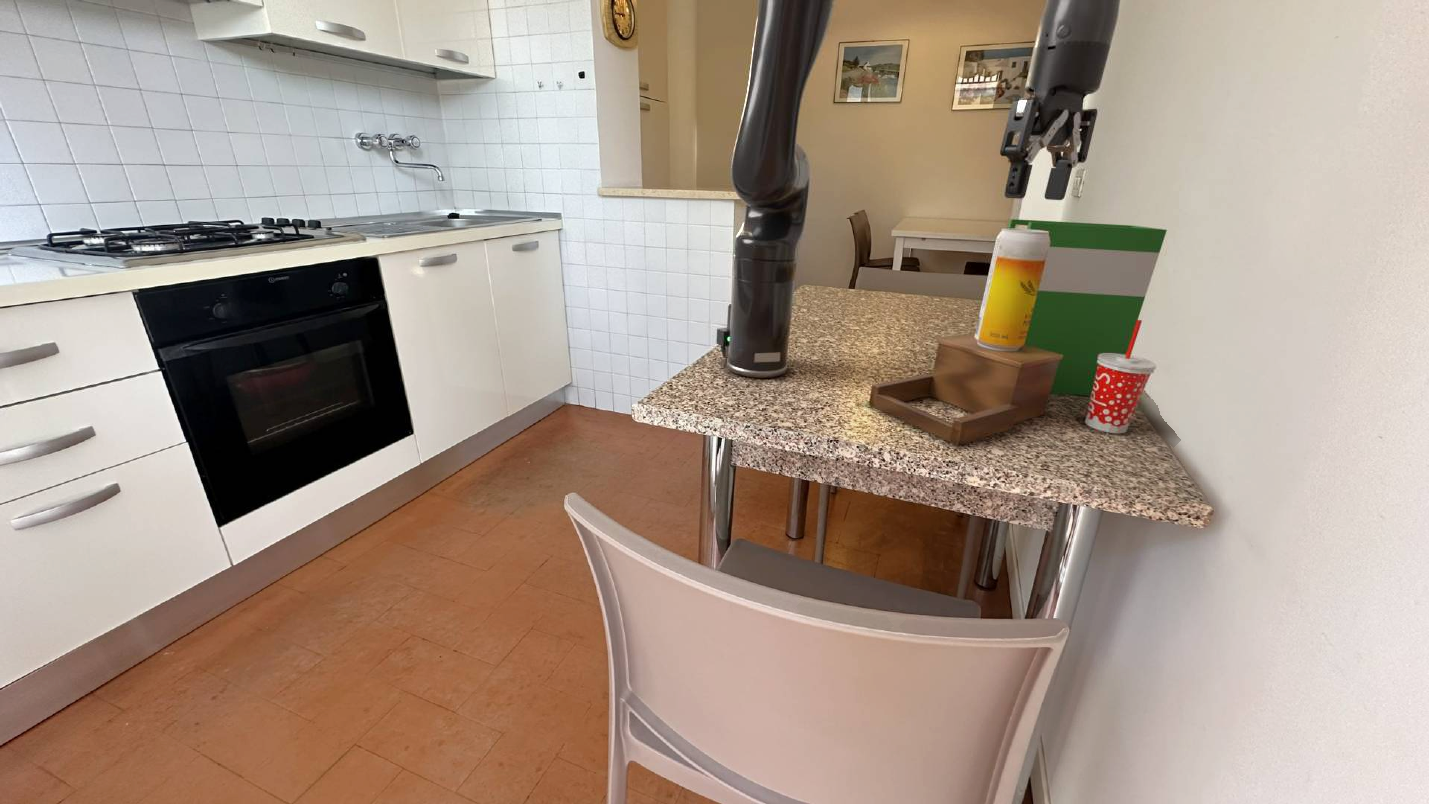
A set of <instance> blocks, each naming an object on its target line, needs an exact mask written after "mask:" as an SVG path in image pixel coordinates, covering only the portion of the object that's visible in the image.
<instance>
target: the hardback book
mask: <svg viewBox="0 0 1429 804" xmlns="http://www.w3.org/2000/svg"><path fill="white" fill-rule="evenodd" d="M1007 228H1019V229H1032V230H1042V231H1048V232H1049V238H1050V246H1049V250H1048V254H1047V257H1046V261H1045V265H1044V269H1043V273H1042V277H1041V281H1040V285H1039V289H1038V293H1037V297H1036V301H1035V304H1034V308H1033V312H1032V316H1031V320H1030V324H1029V328H1028V332H1027V336H1026V340H1025V345H1028V346H1032V347H1036V348H1039V349H1043V350H1047V351H1051V352H1054V353H1058V354H1062V355H1063V358H1062V359H1060V360H1059V364H1058V367H1057V371H1056V375H1055V378H1054V382H1053V385H1052V389H1051V392H1050V394H1062V395H1063V394H1064V395H1078V396H1091V394H1092V390H1093V385H1094V381H1095V377H1096V373H1097V368H1098V363H1097V360H1098V355H1099V354H1102V353H1116V354H1124V355H1126V354H1127V351H1128V348H1129V344H1130V341H1131V338H1132V335H1133V332H1134V329H1135V326H1136V323H1137V320H1139V317H1140V314H1141V311H1142V308H1143V305H1144V302H1145V299H1146V296H1147V292H1148V290H1149V287H1150V285H1151V280H1152V277H1153V274H1154V271H1155V268H1156V264H1157V262H1158V260H1159V255H1160V253H1161V249H1162V247H1163V243H1164V240H1165V237H1166V234H1167V231H1168V230H1167V229H1163V228H1156V227H1148V226H1140V225H1129V224H1113V223H1112V224H1111V223H1093V222H1090V223H1089V222H1075V221H1073V222H1072V221H1057V220H1056V221H1054V220H1036V219H1035V220H1033V219H1019V218H1017V219H1016V218H1009V220H1008V224H1007Z"/></svg>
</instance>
